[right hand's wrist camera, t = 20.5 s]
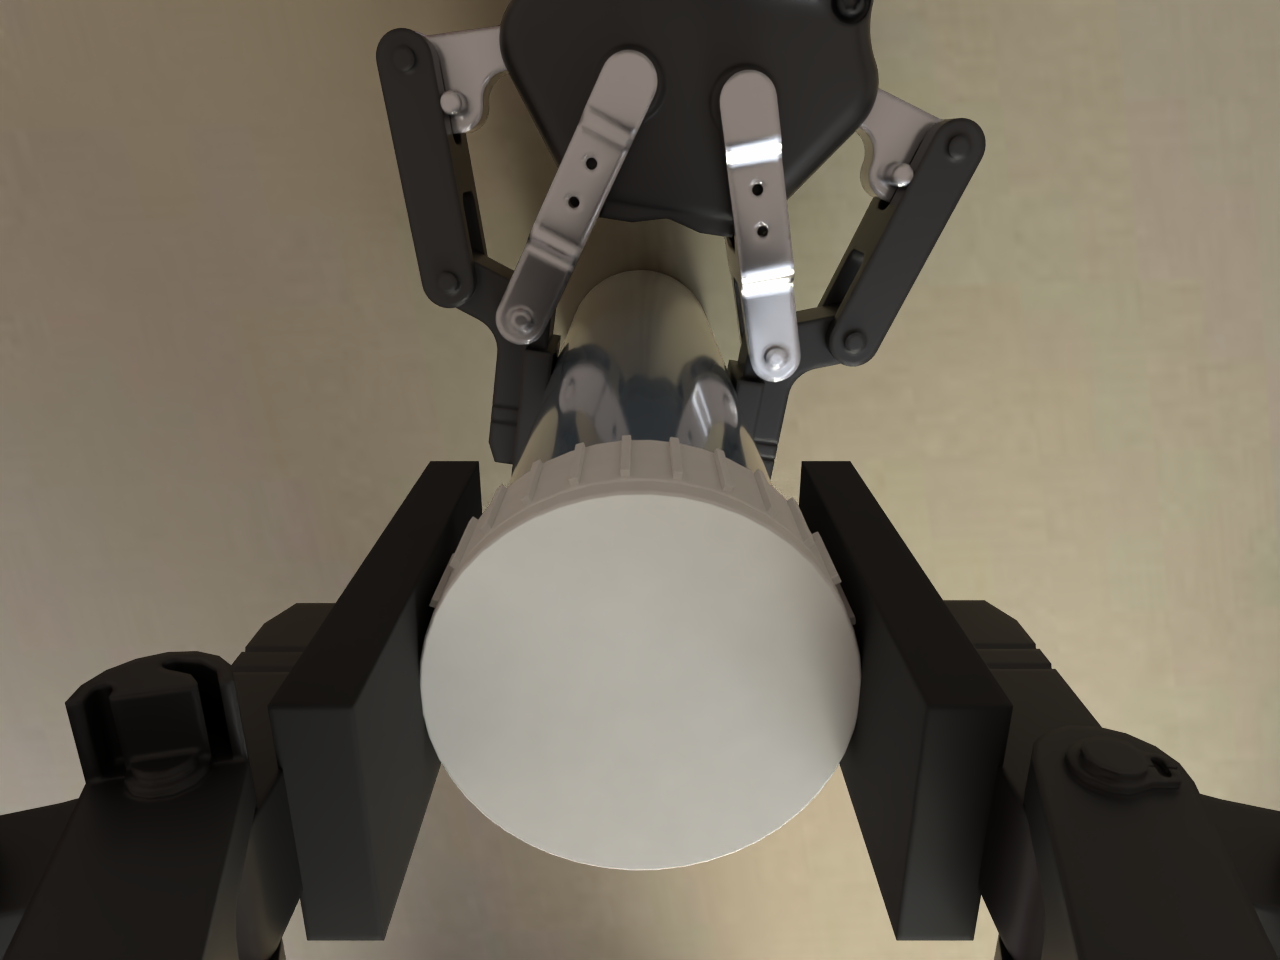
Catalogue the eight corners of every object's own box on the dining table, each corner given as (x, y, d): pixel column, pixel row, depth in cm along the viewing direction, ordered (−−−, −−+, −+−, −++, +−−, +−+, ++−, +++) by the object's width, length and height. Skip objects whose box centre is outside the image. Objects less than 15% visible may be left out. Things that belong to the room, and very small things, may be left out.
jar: (541, 343, 29) (379, 669, 11) (636, 239, 28) (630, 409, 10) (643, 434, 30) (648, 869, 12) (738, 337, 29) (903, 654, 11)
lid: (861, 442, 11) (900, 496, 9) (812, 786, 13) (839, 884, 11) (438, 423, 11) (401, 474, 9) (450, 772, 13) (420, 868, 11)
